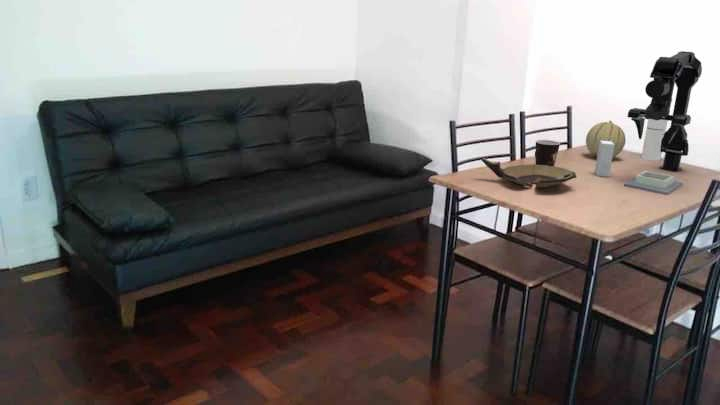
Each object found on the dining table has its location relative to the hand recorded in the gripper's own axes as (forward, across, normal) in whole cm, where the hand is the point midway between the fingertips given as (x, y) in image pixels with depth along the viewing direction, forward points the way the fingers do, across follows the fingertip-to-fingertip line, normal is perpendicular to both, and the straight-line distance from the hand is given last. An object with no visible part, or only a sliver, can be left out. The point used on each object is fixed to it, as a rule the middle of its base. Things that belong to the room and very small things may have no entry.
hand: (653, 141), depth 208 cm
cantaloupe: (+15, -25, +25) cm, 39 cm away
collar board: (+15, +3, -2) cm, 15 cm away
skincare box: (+15, -15, -2) cm, 21 cm away
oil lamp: (+15, -28, -34) cm, 46 cm away
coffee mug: (+15, -34, -12) cm, 39 cm away
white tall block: (+15, -11, +40) cm, 44 cm away
